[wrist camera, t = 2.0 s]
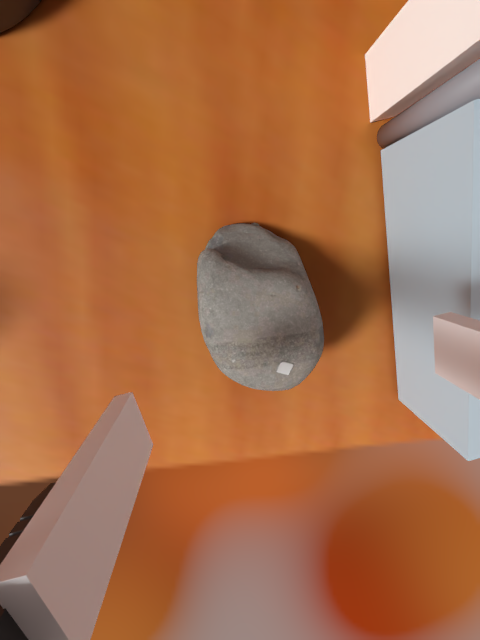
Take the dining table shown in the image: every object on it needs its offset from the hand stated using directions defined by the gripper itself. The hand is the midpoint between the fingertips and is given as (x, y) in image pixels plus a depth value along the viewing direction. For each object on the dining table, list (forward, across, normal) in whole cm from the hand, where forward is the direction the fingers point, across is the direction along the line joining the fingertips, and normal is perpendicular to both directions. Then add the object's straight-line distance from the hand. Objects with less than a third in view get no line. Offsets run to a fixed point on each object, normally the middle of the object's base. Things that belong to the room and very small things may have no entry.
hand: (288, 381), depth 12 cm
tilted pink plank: (+11, +12, +14) cm, 22 cm away
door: (+11, +13, 0) cm, 17 cm away
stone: (+12, 0, +2) cm, 12 cm away
